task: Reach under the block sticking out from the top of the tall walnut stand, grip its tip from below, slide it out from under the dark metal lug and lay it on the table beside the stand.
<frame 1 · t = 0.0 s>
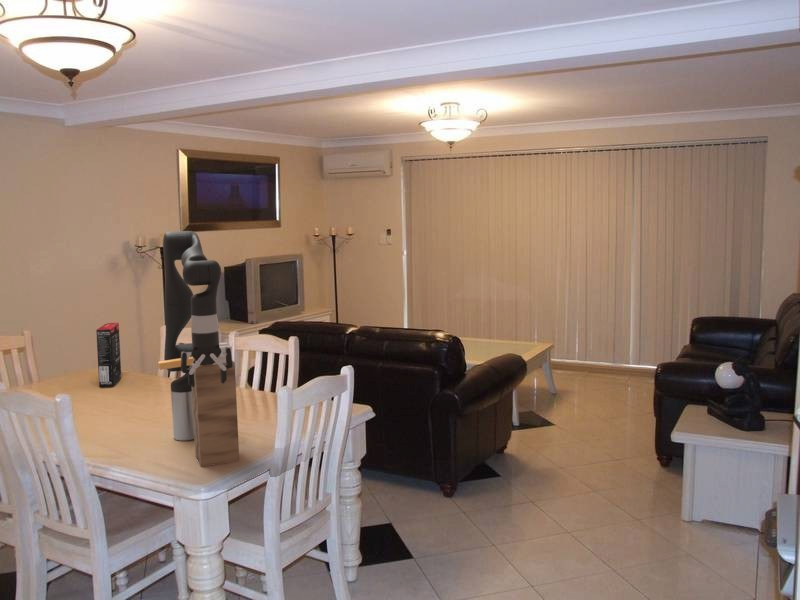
hand: (207, 384, 203), 29 cm above the table, tool pointing down, fingers open, 8 cm apart
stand: (217, 458, 225), on the table
block: (182, 365, 217), point 32 cm above the table, touching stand
graphics card box: (111, 383, 324), on the table
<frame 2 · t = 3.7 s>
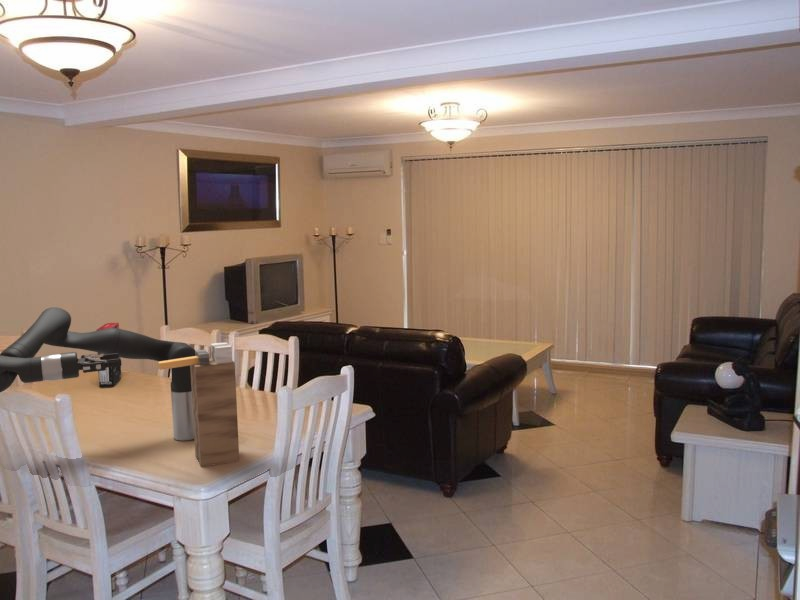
hand: (120, 359, 209), 36 cm above the table, tool horizontal, fingers open, 8 cm apart
nothing on the table moved.
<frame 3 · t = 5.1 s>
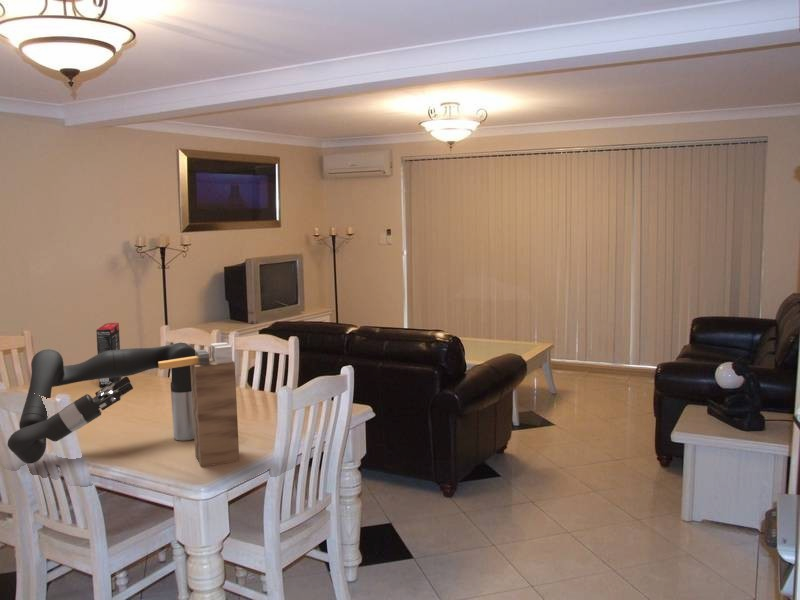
hand: (130, 381, 211), 28 cm above the table, tool pointing upward, fingers open, 8 cm apart
nothing on the table moved.
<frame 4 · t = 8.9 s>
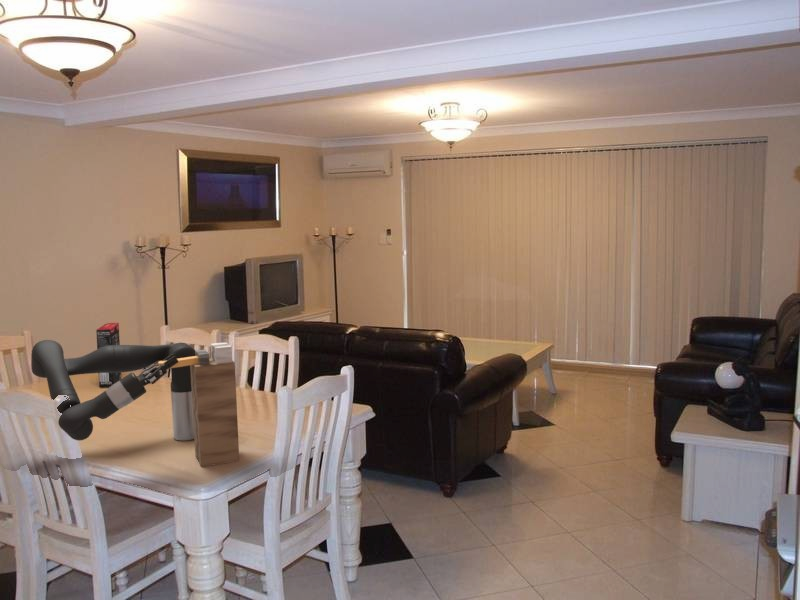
hand: (175, 357, 216), 34 cm above the table, tool pointing upward, fingers closed on block, 3 cm apart
block: (182, 365, 217), point 32 cm above the table, touching gripper, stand
everything else where it was.
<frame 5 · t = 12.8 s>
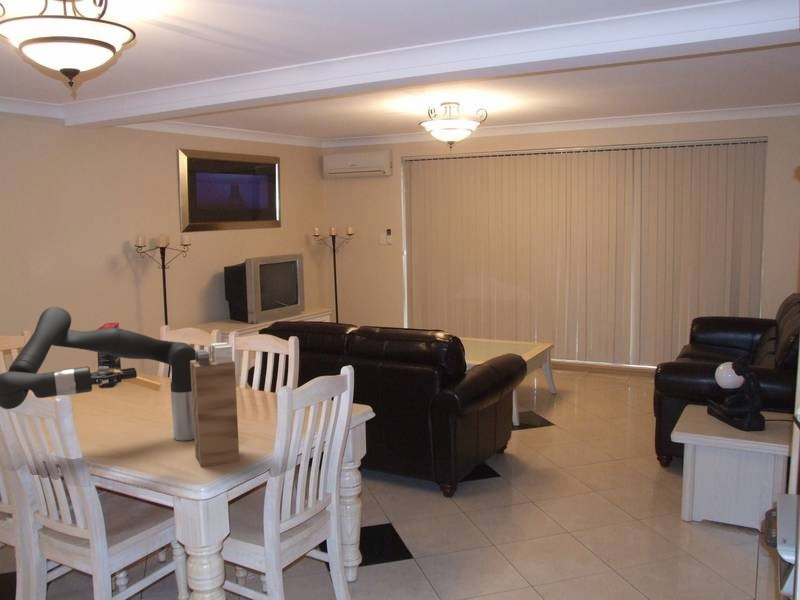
hand: (135, 372, 211), 31 cm above the table, tool horizontal, fingers closed on block, 3 cm apart
block: (135, 383, 212), point 28 cm above the table, tilted 25°, touching gripper
everything else where it was.
when the fingers open (10 cm above the table, at t = 16.8 s): block drops 7 cm, on the table.
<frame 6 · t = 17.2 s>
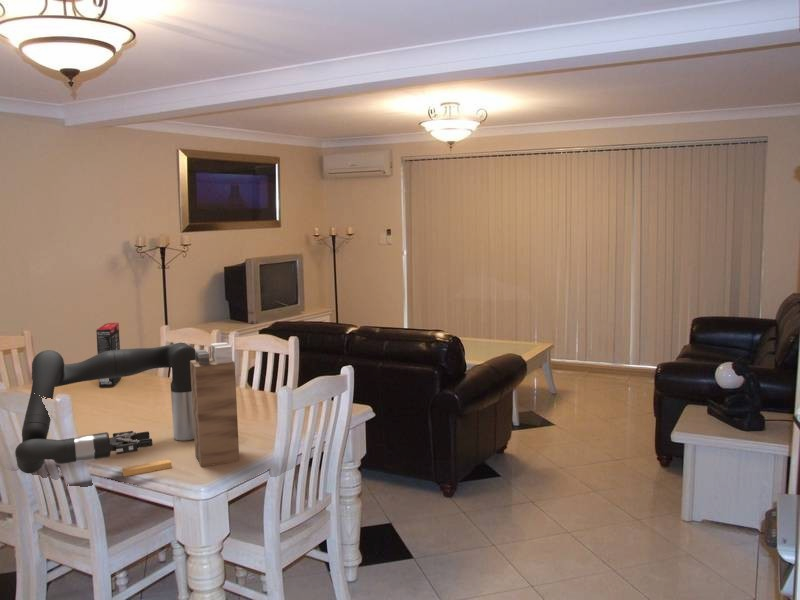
hand: (150, 438, 215), 10 cm above the table, tool horizontal, fingers open, 7 cm apart
block: (147, 471, 216), on the table
everything else where it was.
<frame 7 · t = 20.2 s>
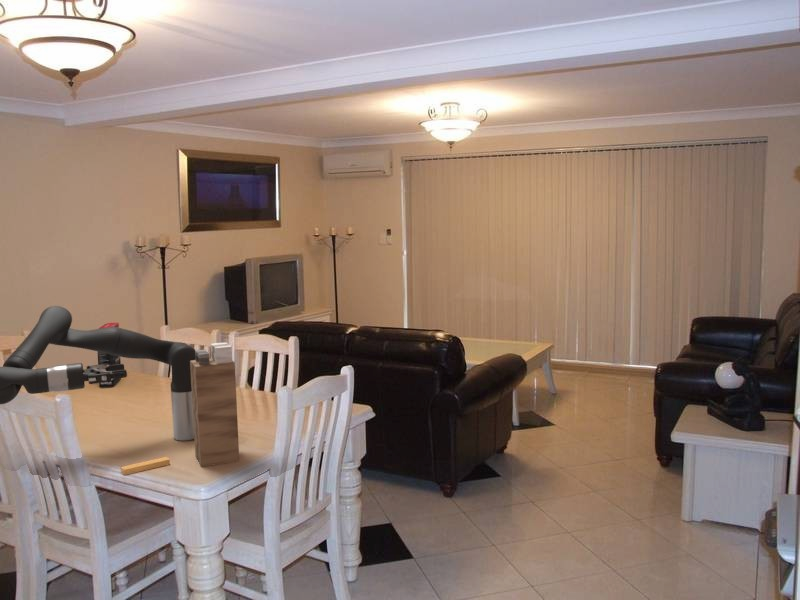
hand: (125, 370, 210), 32 cm above the table, tool horizontal, fingers open, 8 cm apart
block: (145, 469, 218), on the table
everything else where it was.
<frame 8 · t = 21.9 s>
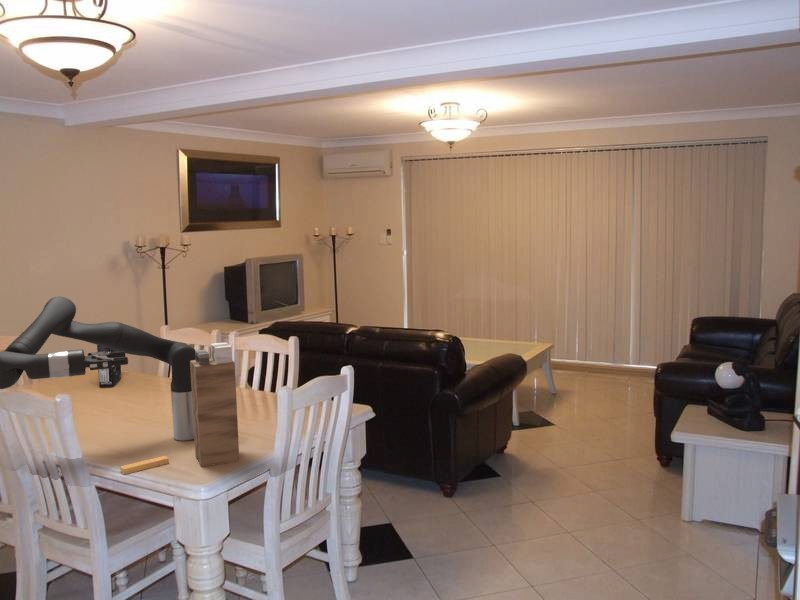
hand: (126, 357, 210), 36 cm above the table, tool horizontal, fingers open, 8 cm apart
at the end: the gripper is holding nothing; block inside the target area (5.2 cm from its centre), on the table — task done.
